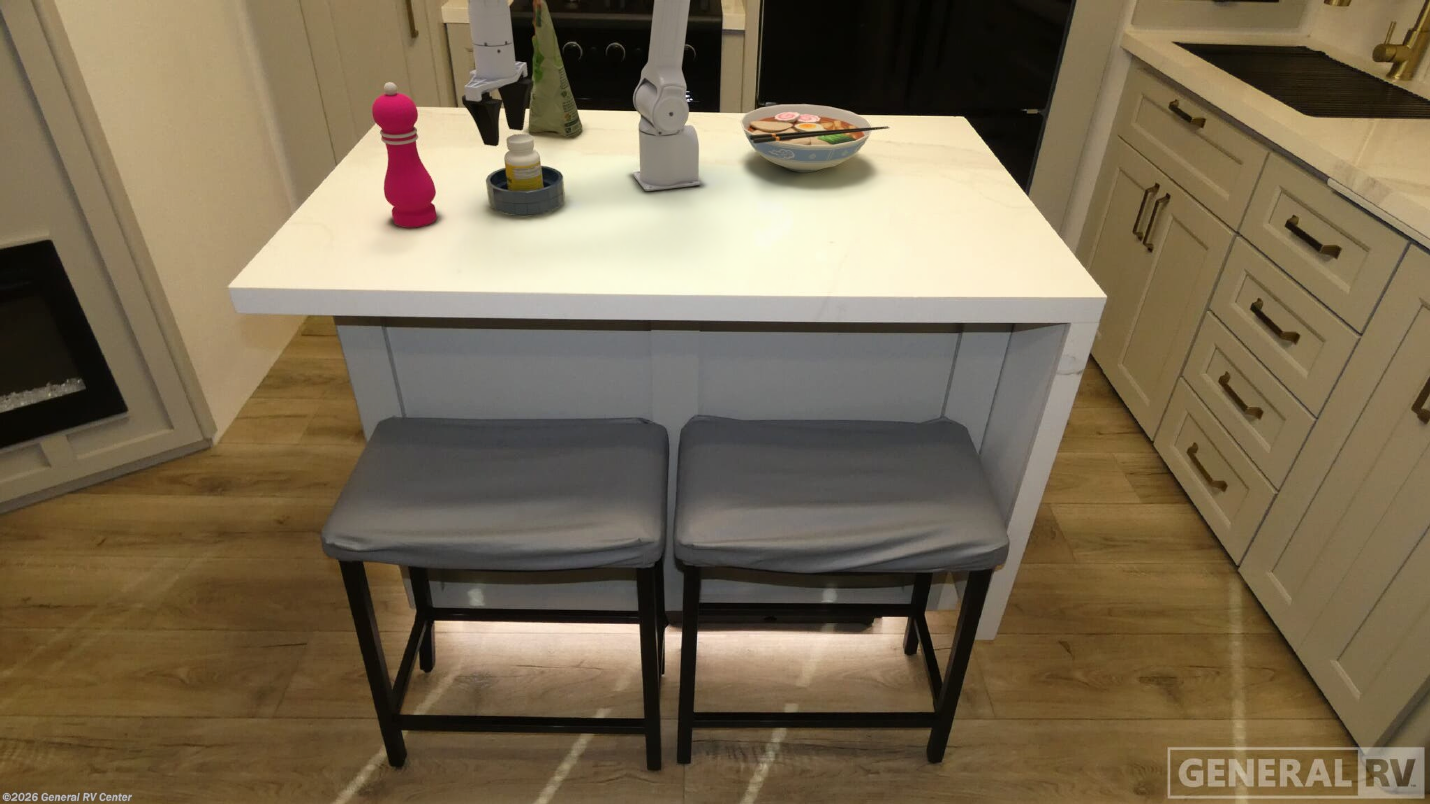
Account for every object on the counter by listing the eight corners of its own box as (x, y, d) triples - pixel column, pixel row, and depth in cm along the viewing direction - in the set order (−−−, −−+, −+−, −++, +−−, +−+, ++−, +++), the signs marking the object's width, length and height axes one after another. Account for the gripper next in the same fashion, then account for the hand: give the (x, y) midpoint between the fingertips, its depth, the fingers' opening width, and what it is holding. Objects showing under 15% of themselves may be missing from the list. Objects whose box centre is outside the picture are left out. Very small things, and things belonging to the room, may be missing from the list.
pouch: (557, 144, 158) (544, -4, 144) (509, 131, 163) (492, -13, 149) (596, 129, 166) (588, -14, 151) (549, 117, 171) (537, -22, 157)
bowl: (556, 186, 142) (554, 161, 139) (572, 213, 133) (569, 187, 130) (484, 194, 138) (481, 168, 136) (495, 222, 129) (492, 195, 127)
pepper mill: (449, 213, 132) (427, 78, 120) (421, 232, 126) (395, 92, 114) (409, 206, 134) (383, 72, 122) (380, 224, 128) (349, 86, 116)
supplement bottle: (511, 193, 137) (503, 132, 131) (545, 193, 138) (540, 132, 132) (507, 207, 133) (499, 144, 127) (543, 206, 133) (537, 143, 128)
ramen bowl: (839, 138, 164) (844, 94, 160) (896, 181, 147) (904, 133, 142) (715, 150, 158) (716, 104, 153) (759, 196, 140) (762, 146, 135)
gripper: (493, 28, 129) (504, 119, 137) (439, 50, 118) (454, 148, 125) (535, 32, 127) (544, 125, 135) (485, 55, 116) (498, 154, 124)
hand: (504, 136), depth 130 cm, fingers open, 7 cm apart
